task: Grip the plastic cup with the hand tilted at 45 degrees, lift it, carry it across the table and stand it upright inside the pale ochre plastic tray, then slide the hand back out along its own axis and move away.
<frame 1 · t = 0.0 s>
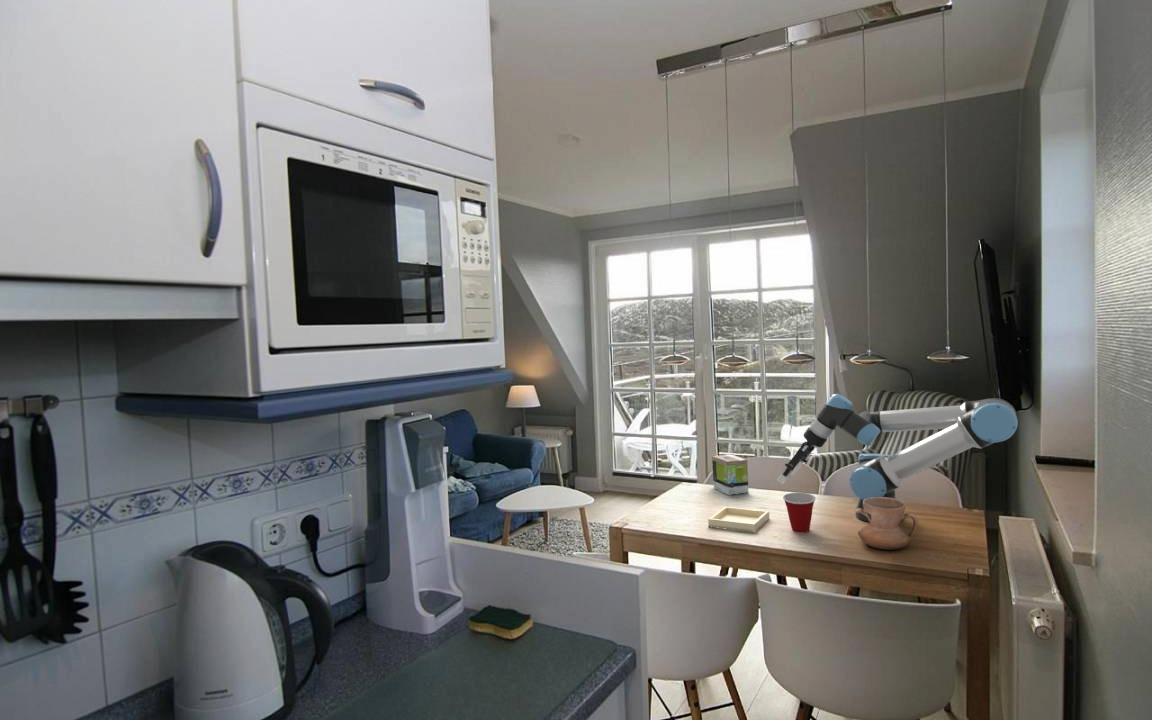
hand: (785, 477, 236), 15 cm above the table, tool tilted 35°, fingers open, 13 cm apart
plastic cup: (800, 530, 223), on the table
tray: (739, 523, 235), on the table
tea box: (730, 491, 281), on the table
ceramic jug: (887, 546, 203), on the table
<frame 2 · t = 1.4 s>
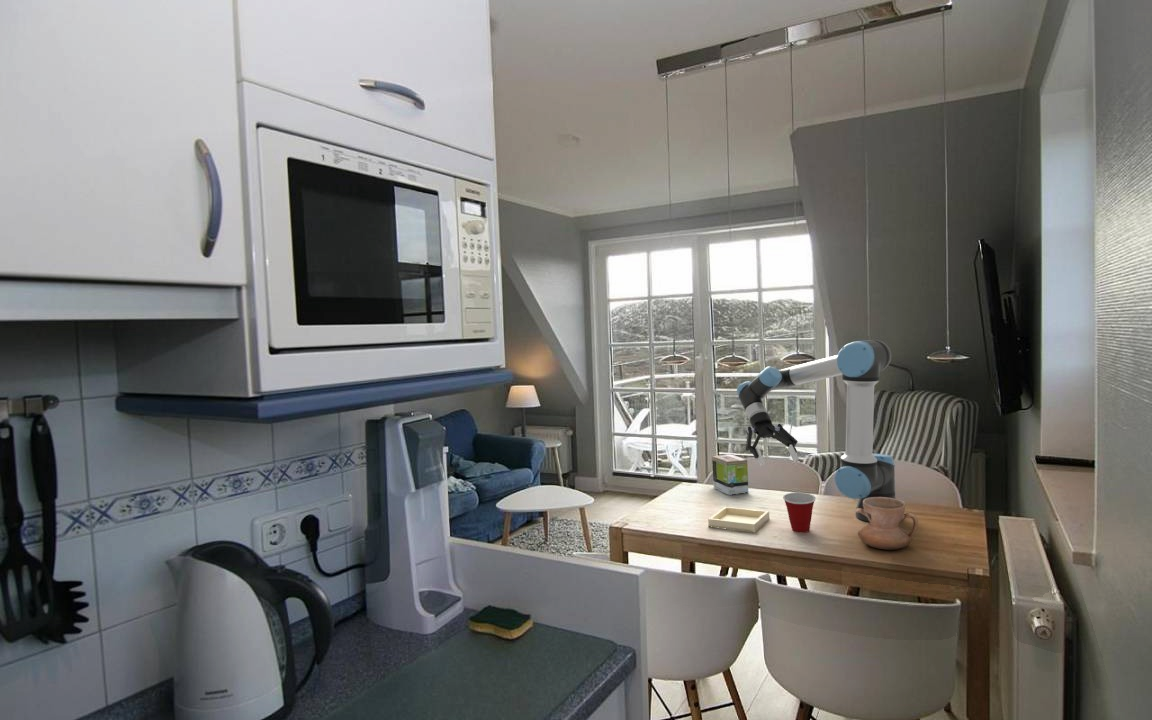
hand: (779, 463, 234), 21 cm above the table, tool tilted 45°, fingers open, 13 cm apart
nothing on the table moved.
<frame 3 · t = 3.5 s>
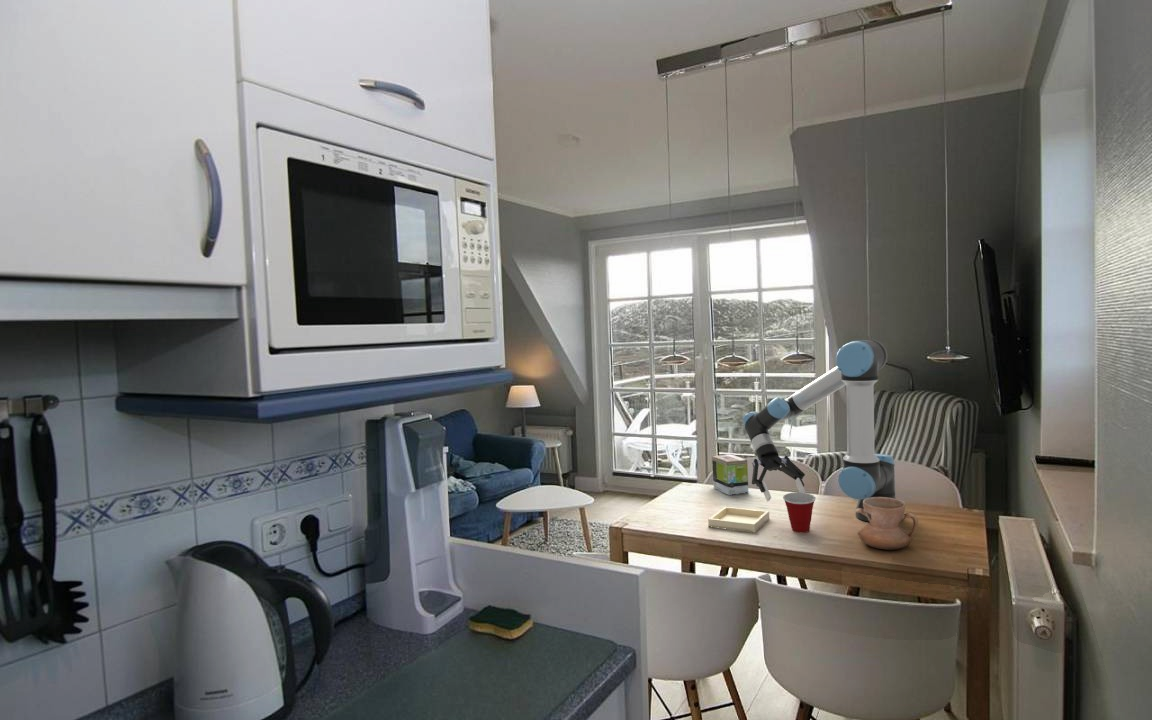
hand: (786, 497, 229), 10 cm above the table, tool tilted 45°, fingers open, 13 cm apart
nothing on the table moved.
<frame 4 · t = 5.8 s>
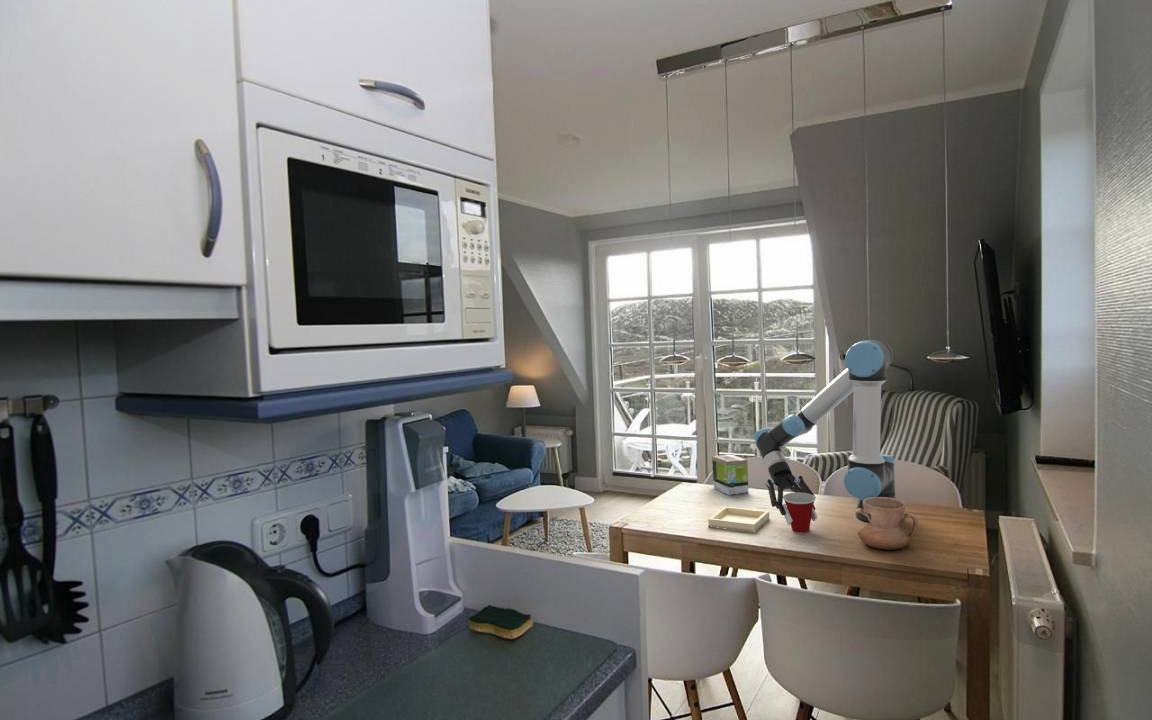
hand: (802, 521, 221), 4 cm above the table, tool tilted 45°, fingers closed on plastic cup, 9 cm apart
plastic cup: (800, 530, 223), on the table, touching gripper
everything else where it was.
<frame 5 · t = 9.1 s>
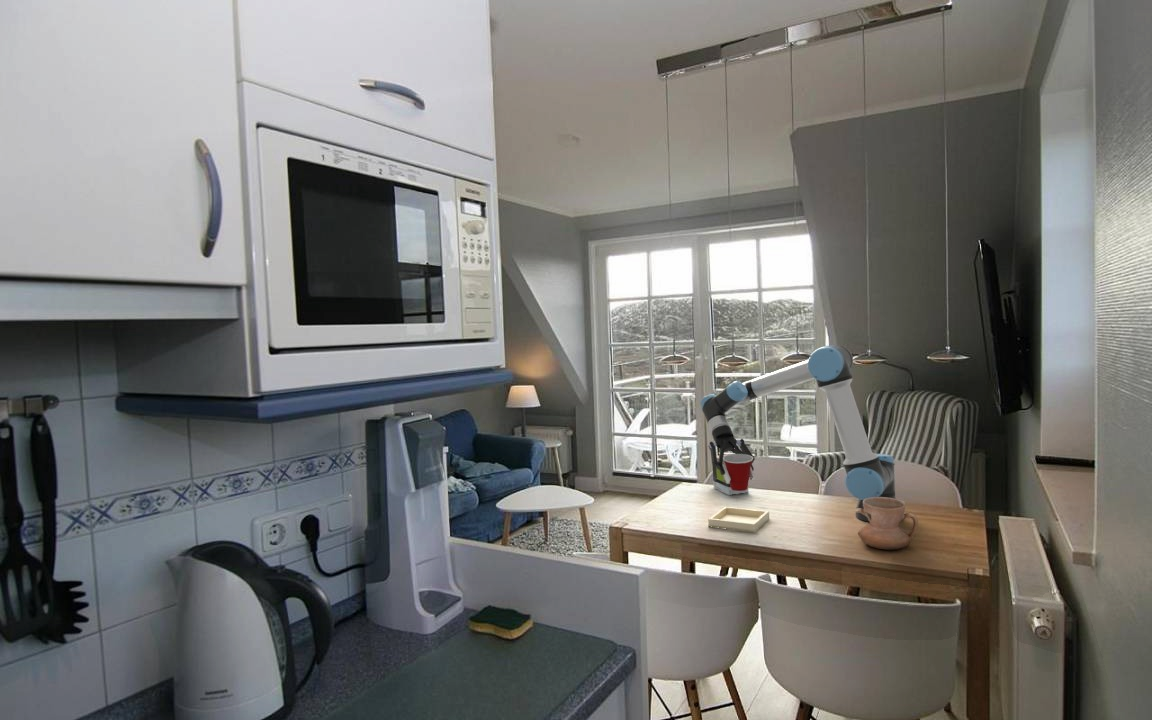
hand: (740, 480, 232), 16 cm above the table, tool tilted 45°, fingers closed on plastic cup, 9 cm apart
plastic cup: (739, 489, 234), point 12 cm above the table, touching gripper
everything else where it was.
when the fingers open (5 cm above the table, at t = 12.3 s): plastic cup stays where it is, resting on tray.
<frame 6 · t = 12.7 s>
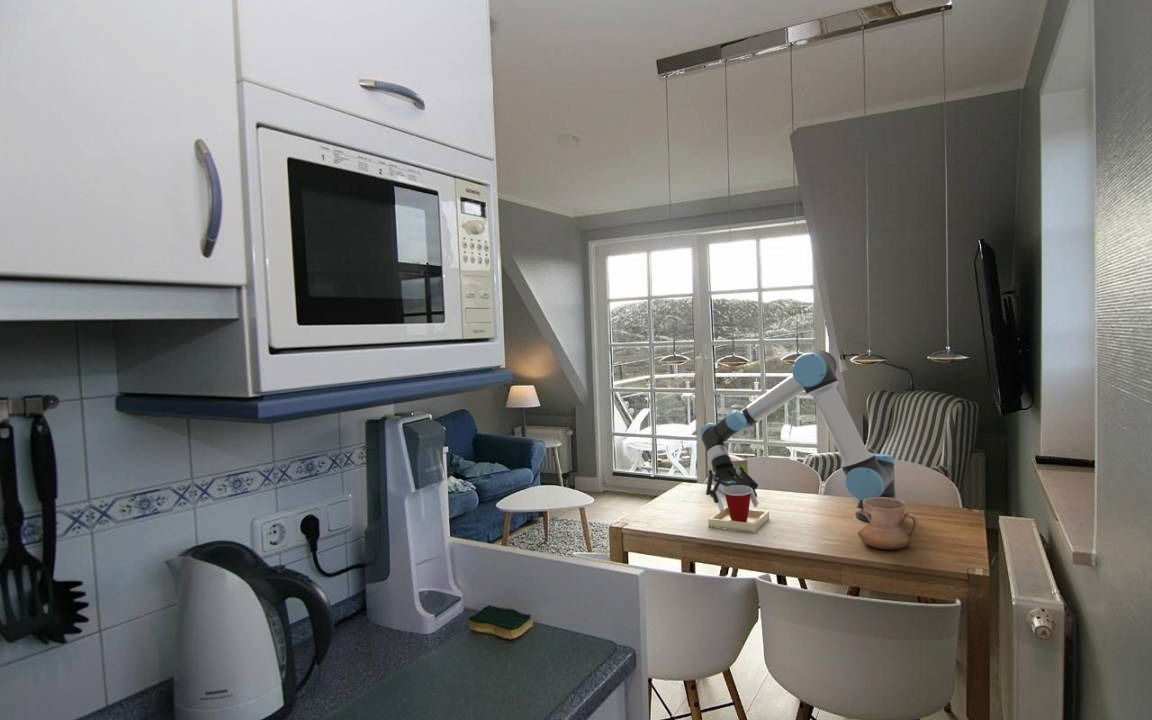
hand: (739, 507, 234), 6 cm above the table, tool tilted 45°, fingers open, 13 cm apart
plastic cup: (739, 521, 235), point 1 cm above the table, touching tray
everything else where it was.
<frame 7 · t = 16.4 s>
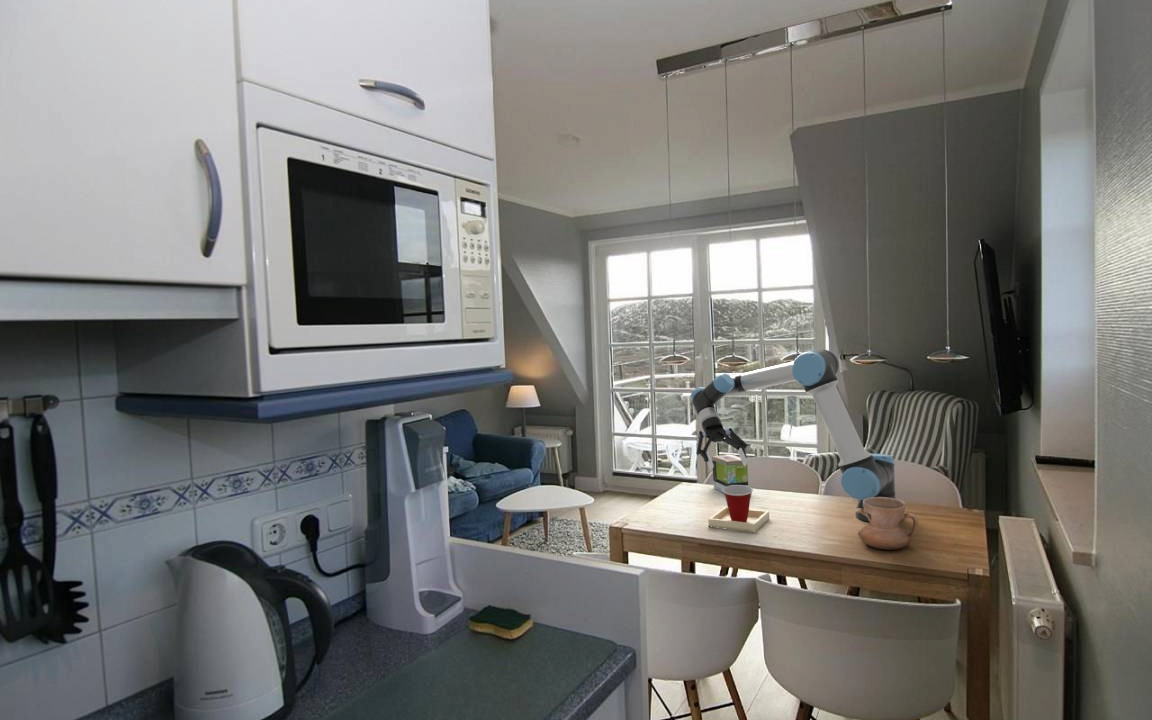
hand: (729, 466, 240), 20 cm above the table, tool tilted 45°, fingers open, 13 cm apart
nothing on the table moved.
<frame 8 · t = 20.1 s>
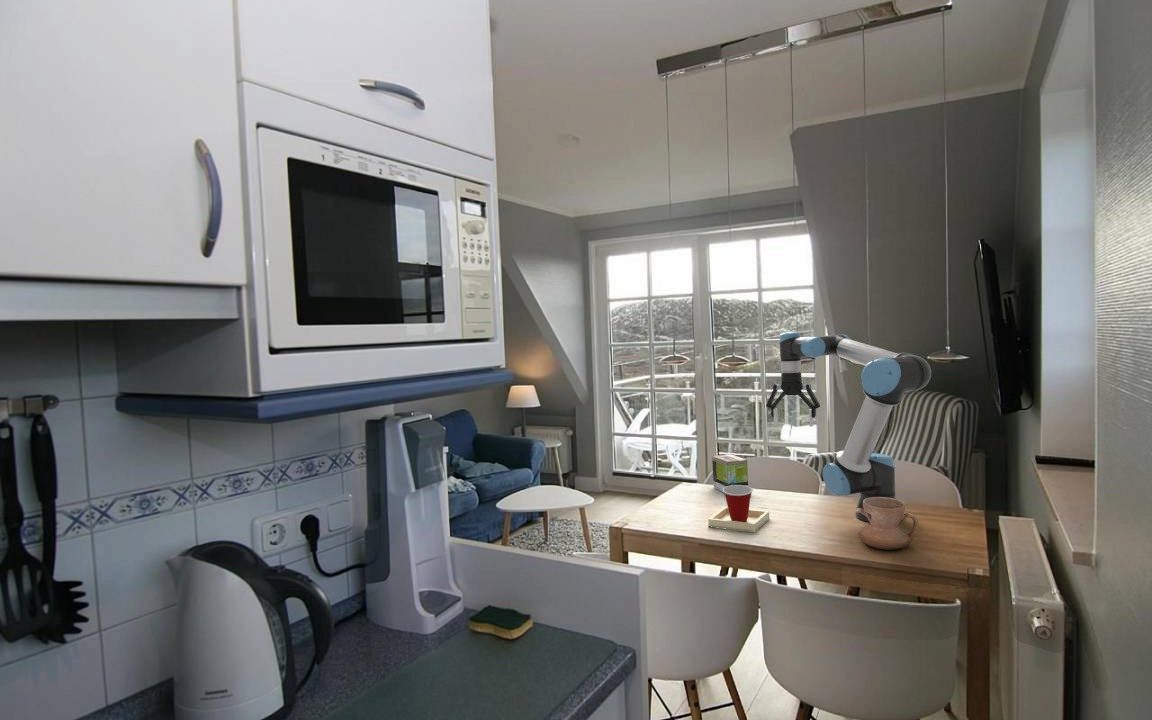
hand: (793, 425, 251), 32 cm above the table, tool pointing down, fingers open, 13 cm apart
nothing on the table moved.
at the end: plastic cup inside the target area on the tray (0.1 cm from its centre), point 0.6 cm above the tray's base; plastic cup tilted 0°; the gripper is holding nothing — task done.
